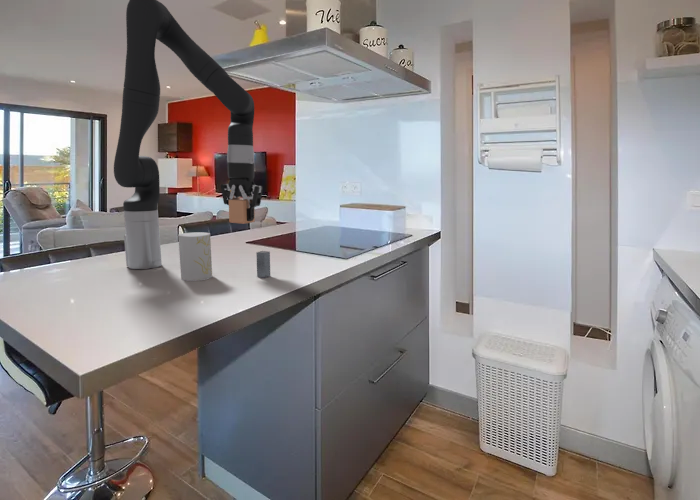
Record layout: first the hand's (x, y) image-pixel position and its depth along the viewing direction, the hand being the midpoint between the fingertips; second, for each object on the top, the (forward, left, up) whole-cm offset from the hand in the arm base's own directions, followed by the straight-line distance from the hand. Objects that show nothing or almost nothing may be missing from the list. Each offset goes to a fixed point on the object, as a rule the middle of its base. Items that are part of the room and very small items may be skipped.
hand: (242, 219), depth 125 cm
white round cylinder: (-5, -14, -15) cm, 21 cm away
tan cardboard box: (0, 0, -1) cm, 1 cm away
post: (+11, -5, -15) cm, 19 cm away
